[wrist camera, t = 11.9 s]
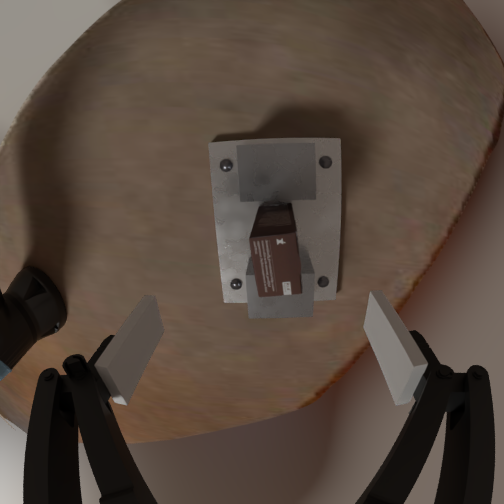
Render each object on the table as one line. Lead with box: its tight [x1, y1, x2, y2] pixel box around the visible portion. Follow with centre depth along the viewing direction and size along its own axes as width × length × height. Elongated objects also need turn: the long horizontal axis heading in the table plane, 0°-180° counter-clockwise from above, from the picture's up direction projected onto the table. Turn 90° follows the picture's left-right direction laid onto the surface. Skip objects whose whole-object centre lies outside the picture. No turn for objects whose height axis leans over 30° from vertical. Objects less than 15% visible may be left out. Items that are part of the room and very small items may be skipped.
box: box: [249, 203, 303, 297], centre depth 29 cm, size 6×4×12 cm
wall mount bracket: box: [209, 138, 341, 318], centre depth 33 cm, size 16×22×6 cm
